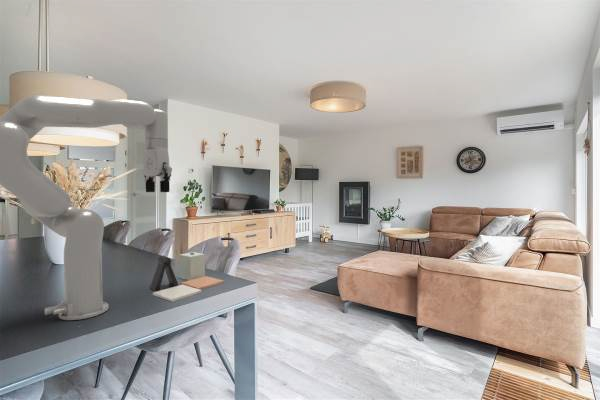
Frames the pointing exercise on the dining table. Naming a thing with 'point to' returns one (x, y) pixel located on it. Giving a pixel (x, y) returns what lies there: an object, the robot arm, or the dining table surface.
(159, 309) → the dining table surface
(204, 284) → the pad terracotta
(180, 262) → the block
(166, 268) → the black a-frame stand
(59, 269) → the dining table surface
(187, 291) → the pad cream
